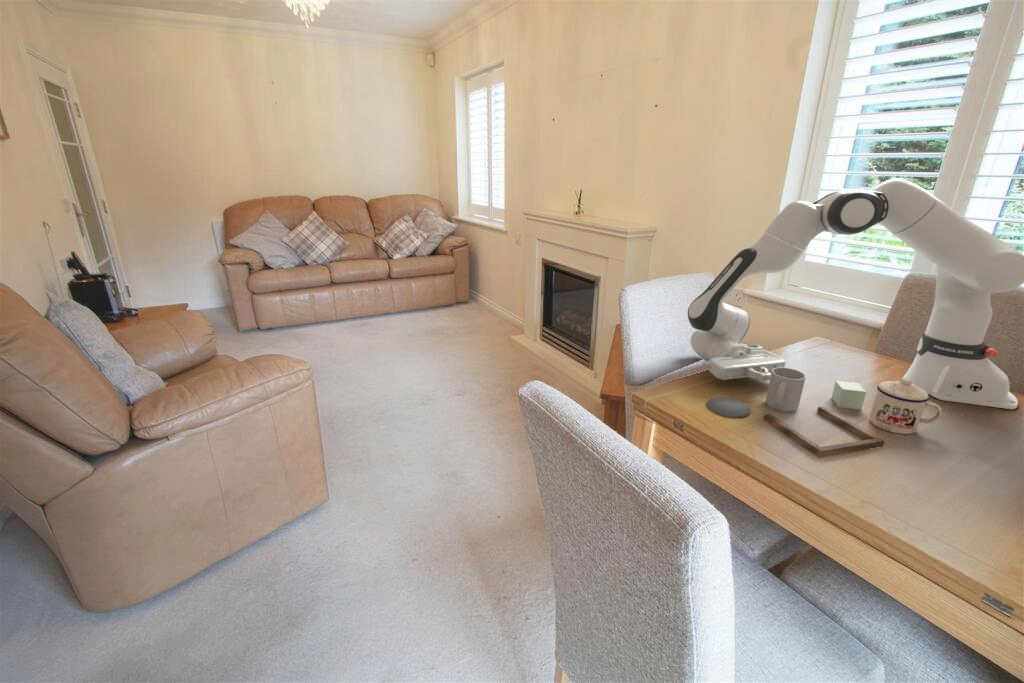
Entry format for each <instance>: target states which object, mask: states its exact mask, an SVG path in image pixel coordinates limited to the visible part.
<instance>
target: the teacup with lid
mask: <svg viewBox="0 0 1024 683" xmlns="http://www.w3.org/2000/svg"><path fill="white" fill-rule="evenodd" d="M929 395H930V394H928V393H927V392H926V391H924V390H923V389H921V388H919V387H917V386H915V385H914V384H912V381H911V380H910V379H907V378H903V377H902V378H900V379H899V380H894V381H891V380H888V381H882V382H880V383H878V385H877V391H876V395H875V398H874V402H873V404H872V408H871V411H870V414H869V418H868V419H869V422H870V423H871V424H873V425H874V426H876V427H878V428H879V429H881V430H884V431H887V432H891V433H894V434H902V435H911V434H914V433H916V432H917V430H918V427H919V424H920V423H921V424H932V423H935V422H936V421H938V420H940V418H942V415H943V410H942V407H941V406H939V405H938V404H937V403H933V402H931V401H929V400H930V396H929ZM925 406H926V407H929V408H930V407H931V408H934V409H936V411H937V413H936V414H935V415H934V416H932V417H930V418H922V415H923V412H924V409H925Z"/></svg>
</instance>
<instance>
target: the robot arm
mask: <svg viewBox="0 0 1024 683" xmlns="http://www.w3.org/2000/svg"><path fill="white" fill-rule="evenodd" d="M877 224H878V225H880V226H882V227H884V228H885V229H886V230H888V231H889V232H890V233H892V235H895V237H897V239H899V240H901V241H902V242H903V243H905V244H906V245H907V246H909V247H910V248H911V249H913V250H914V251H915V252H916V253H918V254H919V255H921V256H923V257H924V258H926V259H928V260H929V261H931V262H932V263H934V264H935V266H936V271H937V272H936V279H935V280H936V281H935V293H934V295H935V296H934V301H933V302H934V303H933V308H932V310H931V315H930V318H929V320H928V324H927V326H926V329H925V332H923V333H922V335H921V337H920V339H919V342H918V345H917V349H916V351H917V354H916V355H915V357H914V360H913V362H912V363H911V365H910V367H909V369H908V370H907V371H906V373H905V374H904V376H902V378H907V379H910V380H911V381H912V384H914V385H915V386H917V387H919V388H921V389H923V390H924V391H926V392H927V393H928V395H930V396H931V397H934V398H936V399H938V400H940V401H946V402H953V403H954V402H955V403H961V404H970V405H976V406H983V407H992V408H1001V409H1007V410H1015V409H1017V408H1018V405H1019V401H1018V399H1017V398H1016V396H1015V394H1012V393H1013V392H1010V385H1011V384H1010V379H1009V377H1008V375H1006V373H1005V372H1004V371H1002V370H1001V369H1000V367H998V366H997V365H996V364H995V363H993V361H992V360H990V359H989V358H995V357H997V355H999V354H998V353H999V352H998V351H997V350H996V349H995V348H993V347H991V346H990V345H989V344H987V343H985V342H984V338H985V336H986V333H987V331H988V329H989V325H990V323H991V320H992V318H993V314H994V313H993V312H994V311H993V308H992V305H991V294H992V293H993V294H997V293H998V294H999V293H1000V294H1001V293H1006V292H1010V291H1013V290H1015V289H1017V288H1018V287H1020V286H1022V285H1023V284H1024V255H1023V253H1021V252H1020V251H1018V250H1017V249H1015V248H1013V247H1012V246H1011V245H1009V244H1008V243H1006V242H1005V241H1003V240H1001V239H1000V238H999V237H997V236H995V235H994V234H992V233H990V232H989V231H987V230H986V229H984V228H982V227H980V226H978V225H977V224H975V223H974V222H972V221H971V220H968V219H967V218H966V217H963V216H962V215H961V214H960V213H958V212H957V211H956V210H954V209H953V208H951V207H950V206H949V205H947V204H946V203H945V202H943V201H942V200H941V199H939V198H938V197H936V196H935V195H934V194H932V193H931V192H929V191H927V190H926V189H924V188H922V187H920V186H919V185H917V184H915V183H913V182H911V181H908V180H906V179H903V178H899V177H897V178H891V179H888V180H885V181H883V182H882V183H880V184H879V185H877V186H876V187H875V188H874V189H873V190H864V189H863V190H862V189H844V190H839V191H835V192H832V193H829V194H826V195H824V196H822V197H821V198H820V199H819V200H817V201H814V202H813V203H811V202H810V201H805V200H804V201H803V200H796V201H792V202H790V203H788V204H787V205H786V206H785V207H784V208H783V209H782V210H781V211H780V212H779V214H778V215H777V216H776V217H775V218H774V219H773V221H772V222H771V223H770V224H769V226H768V227H767V229H766V230H765V231H764V233H763V234H762V236H761V237H760V238H759V239H758V240H757V241H756V242H755V243H753V245H751V246H749V247H748V248H745V249H744V248H743V249H742V250H740V251H739V252H738V253H737V254H736V255H735V256H734V257H733V258H732V259H731V260H730V261H729V263H728V264H727V265H726V266H725V267H724V268H723V269H722V270H721V272H720V273H719V274H718V275H717V276H716V278H715V279H714V280H712V282H711V283H710V284H709V286H707V288H706V289H705V290H704V291H703V292H702V293H701V294H699V296H697V297H696V298H695V299H694V300H693V301H692V302H691V303H690V305H689V306H688V309H687V319H688V321H689V324H690V326H691V327H692V328H693V329H695V331H694V332H693V333H692V334H691V336H690V341H689V342H690V346H691V348H692V350H693V351H694V353H695V354H696V355H697V356H699V357H700V358H701V359H703V360H704V361H703V362H702V365H703V366H704V367H705V368H708V371H709V372H710V374H712V375H713V376H714V378H717V379H718V380H722V381H726V380H733V379H742V378H749V379H750V378H751V379H755V380H757V381H759V382H766V381H770V378H771V373H772V369H774V368H779V367H784V368H786V360H785V359H784V358H782V357H781V356H779V355H777V354H775V353H774V352H770V351H769V350H765V349H764V348H763V346H762V345H759V344H745V343H741V341H742V340H743V339H744V337H745V336H746V335H747V333H748V331H749V329H750V325H751V323H750V322H751V320H750V319H751V318H750V316H749V313H748V312H747V310H745V309H743V308H740V307H737V306H734V305H732V304H729V303H727V302H724V301H725V299H727V297H728V296H729V295H730V294H731V293H732V292H733V290H735V288H736V287H737V286H738V285H739V284H740V283H741V282H742V280H744V279H746V278H747V277H750V276H753V275H758V274H777V273H781V272H785V271H787V270H789V269H790V268H791V267H792V266H793V265H795V264H796V262H797V261H798V260H799V259H800V258H801V256H802V254H803V253H804V251H805V250H806V249H807V248H808V246H809V245H810V243H811V241H813V239H814V238H815V237H816V236H817V235H819V234H821V233H823V232H829V233H831V234H835V235H846V236H847V235H849V236H850V235H857V234H860V233H863V232H864V231H866V230H868V229H870V228H872V227H873V226H876V225H877Z"/></svg>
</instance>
